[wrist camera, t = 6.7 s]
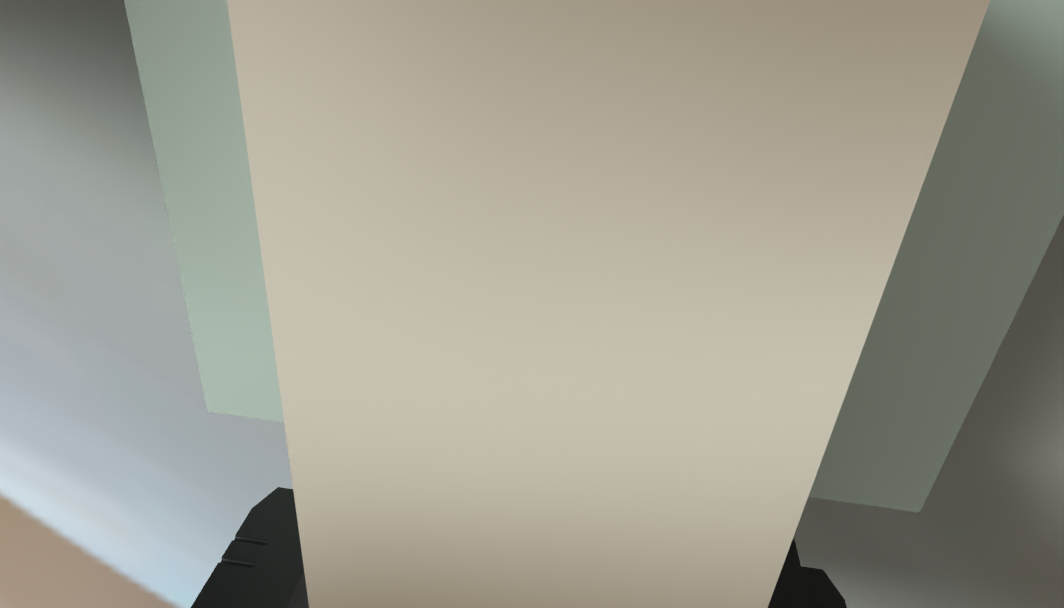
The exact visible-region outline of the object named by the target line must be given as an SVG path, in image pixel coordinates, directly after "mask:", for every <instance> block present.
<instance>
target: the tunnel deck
mask: <svg viewBox="0 0 1064 608" xmlns="http://www.w3.org/2000/svg"><path fill="white" fill-rule="evenodd" d="M124 3H125V8H126V13H127V18H128V23H129V28H130V33H131V38H132V43H133V48H134V53H135V58H136V63H137V67H138V72H139V77H140V82H141V87H142V92H143V97H144V102H145V107H146V112H147V117H148V122H149V127H150V132H151V136H152V141H153V146H154V151H155V156H156V161H157V166H158V171H159V176H160V181H161V186H162V191H163V196H164V200H165V205H166V210H167V215H168V220H169V225H170V230H171V235H172V240H173V245H174V250H175V255H176V260H177V265H178V269H179V274H180V279H181V284H182V289H183V294H184V299H185V304H186V309H187V314H188V319H189V324H190V329H191V334H192V338H193V343H194V348H195V353H196V358H197V363H198V368H199V373H200V378H201V383H202V388H203V393H204V398H205V403H206V407H207V412H213V413H220V414H227V415H234V416H241V417H248V418H255V419H262V420H269V421H276V422H283V423H284V418H283V410H282V403H281V396H280V388H279V381H278V374H277V366H276V359H275V351H274V344H273V337H272V329H271V322H270V314H269V307H268V300H267V292H266V285H265V278H264V270H263V263H262V255H261V248H260V241H259V233H258V226H257V218H256V211H255V204H254V196H253V189H252V182H251V174H250V167H249V159H248V152H247V145H246V137H245V130H244V123H243V115H242V108H241V100H240V93H239V86H238V78H237V71H236V63H235V56H234V49H233V41H232V34H231V27H230V19H229V12H228V4H227V0H124ZM1063 216H1064V0H990V2H989V5H988V8H987V10H986V13H985V16H984V19H983V21H982V24H981V27H980V30H979V32H978V35H977V38H976V40H975V43H974V46H973V49H972V51H971V54H970V57H969V60H968V62H967V65H966V68H965V70H964V73H963V76H962V79H961V81H960V84H959V87H958V90H957V92H956V95H955V98H954V100H953V103H952V106H951V109H950V111H949V114H948V117H947V120H946V122H945V125H944V128H943V131H942V133H941V136H940V139H939V141H938V144H937V147H936V150H935V152H934V155H933V158H932V161H931V163H930V166H929V169H928V171H927V174H926V177H925V180H924V182H923V185H922V188H921V191H920V193H919V196H918V199H917V201H916V204H915V207H914V210H913V212H912V215H911V218H910V221H909V223H908V226H907V229H906V231H905V234H904V237H903V240H902V242H901V245H900V248H899V251H898V253H897V256H896V259H895V261H894V264H893V267H892V270H891V272H890V275H889V278H888V281H887V283H886V286H885V289H884V291H883V294H882V297H881V300H880V302H879V305H878V308H877V311H876V313H875V316H874V319H873V321H872V324H871V327H870V330H869V332H868V335H867V338H866V341H865V343H864V346H863V349H862V351H861V354H860V357H859V360H858V362H857V365H856V368H855V371H854V373H853V376H852V379H851V381H850V384H849V387H848V390H847V392H846V395H845V398H844V401H843V403H842V406H841V409H840V411H839V414H838V417H837V420H836V422H835V425H834V428H833V431H832V433H831V436H830V439H829V441H828V444H827V447H826V450H825V452H824V455H823V458H822V461H821V463H820V466H819V469H818V471H817V474H816V477H815V480H814V482H813V485H812V488H811V491H810V493H809V496H808V497H811V498H818V499H825V500H832V501H839V502H846V503H853V504H860V505H867V506H874V507H881V508H888V509H895V510H902V511H909V512H916V513H920V511H921V509H922V507H923V505H924V503H925V501H926V499H927V497H928V495H929V493H930V491H931V489H932V486H933V484H934V482H935V480H936V478H937V476H938V474H939V472H940V470H941V468H942V466H943V464H944V462H945V460H946V458H947V455H948V453H949V451H950V449H951V447H952V445H953V443H954V441H955V439H956V437H957V435H958V433H959V431H960V429H961V426H962V424H963V422H964V420H965V418H966V416H967V414H968V412H969V410H970V408H971V406H972V404H973V402H974V400H975V398H976V395H977V393H978V391H979V389H980V387H981V385H982V383H983V381H984V379H985V377H986V375H987V373H988V371H989V369H990V367H991V364H992V362H993V360H994V358H995V356H996V354H997V352H998V350H999V348H1000V346H1001V344H1002V342H1003V340H1004V338H1005V336H1006V333H1007V331H1008V329H1009V327H1010V325H1011V323H1012V321H1013V319H1014V317H1015V315H1016V313H1017V311H1018V309H1019V307H1020V304H1021V302H1022V300H1023V298H1024V296H1025V294H1026V292H1027V290H1028V288H1029V286H1030V284H1031V282H1032V280H1033V278H1034V276H1035V273H1036V271H1037V269H1038V267H1039V265H1040V263H1041V261H1042V259H1043V257H1044V255H1045V253H1046V251H1047V249H1048V247H1049V245H1050V242H1051V240H1052V238H1053V236H1054V234H1055V232H1056V230H1057V228H1058V226H1059V224H1060V222H1061V220H1062V218H1063Z"/></svg>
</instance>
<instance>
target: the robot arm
mask: <svg viewBox="0 0 1064 608" xmlns="http://www.w3.org/2000/svg"><path fill="white" fill-rule="evenodd" d="M191 608H309V602H308V595H307V588H306V580H305V573H304V565H303V558H302V551H301V543H300V536H299V529H298V521H297V514H296V506H295V499H294V492H293V489H287V488H280V487H278V488H277V489H275V490H274V491H273V492H272V493H270V494H269V495H268V496H267V497H266V498H264V499H263V500H262V501H261V502H259V503H258V504H257V505H256V506H254V507H253V508H252V509H251V511H250V512H249V514H248V516H247V517H246V519H245V521H244V522H243V524H242V525H241V527H240V529H239V530H238V532H237V534H236V537H235V540H234V541H232V542H231V543H230V545H229V547H228V548H227V550H226V551H225V553H224V555H223V556H222V561H221V563H218V564H217V566H216V568H215V569H214V571H213V572H212V574H211V576H210V577H209V579H208V581H207V582H206V584H205V585H204V587H203V589H202V590H201V592H200V594H199V595H198V597H197V598H196V600H195V602H194V603H193V605H192V607H191ZM768 608H847V607H846V604H845V600H844V599H843V597H842V596H841V594H840V593H839V592H838V590H837V589H836V587H835V586H834V585H833V583H832V582H831V580H830V579H829V578H828V576H827V575H826V573H825V572H824V571H823V570H821V569H815V568H808V567H801V566H800V561H799V557H798V553H797V549H796V544H795V540H794V537H793V540H792V542H791V545H790V548H789V551H788V553H787V556H786V559H785V561H784V564H783V567H782V570H781V572H780V575H779V578H778V581H777V583H776V586H775V589H774V591H773V594H772V597H771V600H770V602H769V605H768Z"/></svg>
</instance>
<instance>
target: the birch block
mask: <svg viewBox="0 0 1064 608" xmlns="http://www.w3.org/2000/svg"><path fill="white" fill-rule="evenodd" d="M989 2H990V0H227V4H228V12H229V19H230V27H231V34H232V41H233V49H234V56H235V63H236V71H237V78H238V86H239V93H240V100H241V108H242V115H243V123H244V130H245V137H246V145H247V152H248V159H249V167H250V174H251V182H252V189H253V196H254V204H255V211H256V218H257V226H258V233H259V241H260V248H261V255H262V263H263V270H264V278H265V285H266V292H267V300H268V307H269V314H270V322H271V329H272V337H273V344H274V351H275V359H276V366H277V374H278V381H279V388H280V396H281V403H282V410H283V418H284V425H285V433H286V440H287V447H288V455H289V462H290V470H291V477H292V484H293V492H294V499H295V506H296V514H297V521H298V529H299V536H300V543H301V551H302V558H303V565H304V573H305V580H306V588H307V595H308V602H309V608H768V605H769V602H770V600H771V597H772V594H773V591H774V589H775V586H776V583H777V581H778V578H779V575H780V572H781V570H782V567H783V564H784V561H785V559H786V556H787V553H788V551H789V548H790V545H791V542H792V540H793V537H794V534H795V531H796V529H797V526H798V523H799V521H800V518H801V515H802V512H803V510H804V507H805V504H806V501H807V499H808V496H809V493H810V491H811V488H812V485H813V482H814V480H815V477H816V474H817V471H818V469H819V466H820V463H821V461H822V458H823V455H824V452H825V450H826V447H827V444H828V441H829V439H830V436H831V433H832V431H833V428H834V425H835V422H836V420H837V417H838V414H839V411H840V409H841V406H842V403H843V401H844V398H845V395H846V392H847V390H848V387H849V384H850V381H851V379H852V376H853V373H854V371H855V368H856V365H857V362H858V360H859V357H860V354H861V351H862V349H863V346H864V343H865V341H866V338H867V335H868V332H869V330H870V327H871V324H872V321H873V319H874V316H875V313H876V311H877V308H878V305H879V302H880V300H881V297H882V294H883V291H884V289H885V286H886V283H887V281H888V278H889V275H890V272H891V270H892V267H893V264H894V261H895V259H896V256H897V253H898V251H899V248H900V245H901V242H902V240H903V237H904V234H905V231H906V229H907V226H908V223H909V221H910V218H911V215H912V212H913V210H914V207H915V204H916V201H917V199H918V196H919V193H920V191H921V188H922V185H923V182H924V180H925V177H926V174H927V171H928V169H929V166H930V163H931V161H932V158H933V155H934V152H935V150H936V147H937V144H938V141H939V139H940V136H941V133H942V131H943V128H944V125H945V122H946V120H947V117H948V114H949V111H950V109H951V106H952V103H953V100H954V98H955V95H956V92H957V90H958V87H959V84H960V81H961V79H962V76H963V73H964V70H965V68H966V65H967V62H968V60H969V57H970V54H971V51H972V49H973V46H974V43H975V40H976V38H977V35H978V32H979V30H980V27H981V24H982V21H983V19H984V16H985V13H986V10H987V8H988V5H989Z"/></svg>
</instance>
